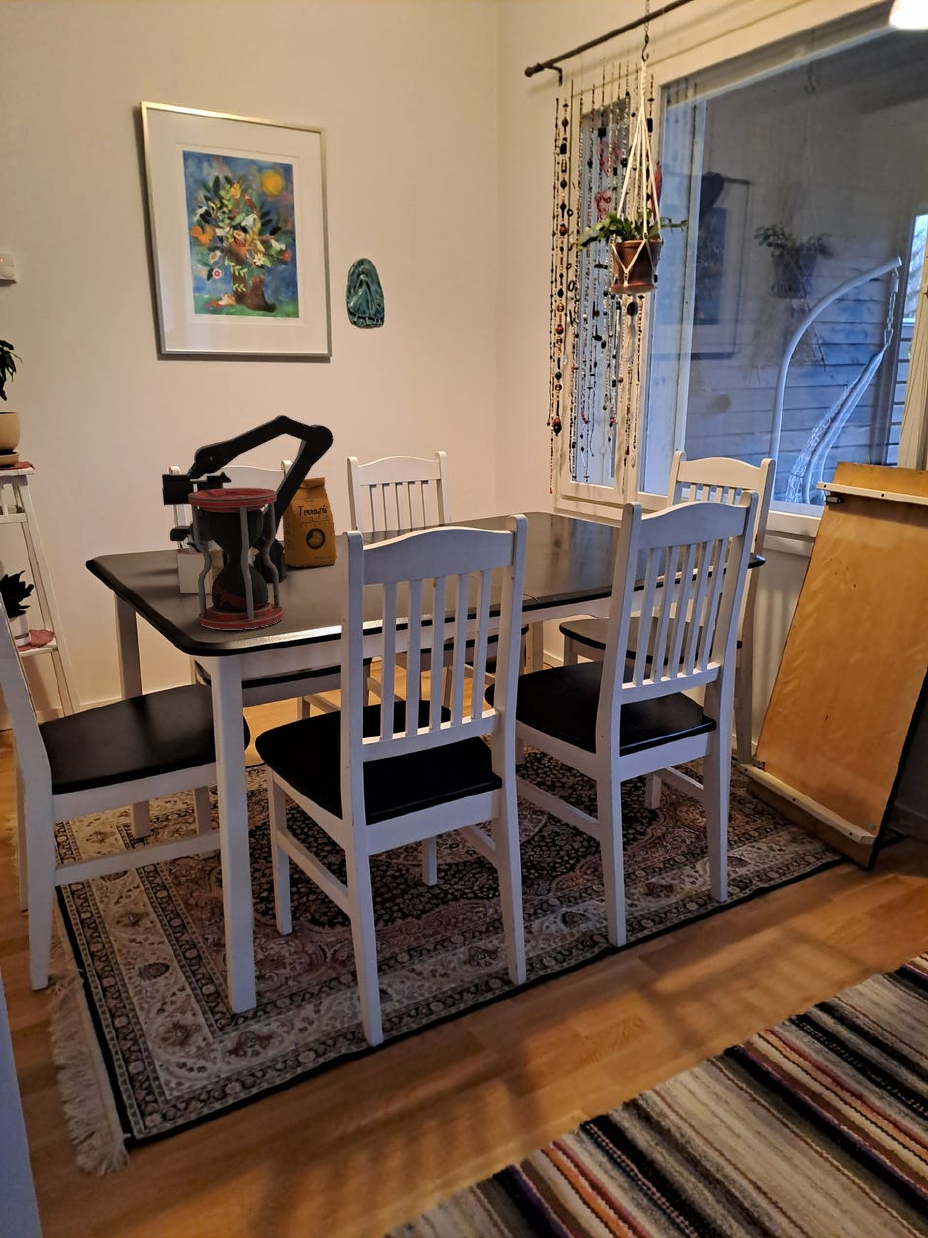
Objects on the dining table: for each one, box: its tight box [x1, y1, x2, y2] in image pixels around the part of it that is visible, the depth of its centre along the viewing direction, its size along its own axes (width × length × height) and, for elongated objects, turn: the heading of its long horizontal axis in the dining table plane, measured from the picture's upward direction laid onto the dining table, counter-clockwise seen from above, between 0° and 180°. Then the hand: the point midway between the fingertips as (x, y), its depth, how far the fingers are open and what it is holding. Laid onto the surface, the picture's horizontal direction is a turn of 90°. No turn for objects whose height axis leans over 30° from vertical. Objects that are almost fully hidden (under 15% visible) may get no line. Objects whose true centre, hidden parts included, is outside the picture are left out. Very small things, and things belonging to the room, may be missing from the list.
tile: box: [176, 551, 214, 593], centre depth 188 cm, size 7×2×9 cm, turn 85°
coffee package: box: [281, 476, 337, 568], centre depth 214 cm, size 10×12×22 cm
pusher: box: [208, 548, 224, 579], centre depth 196 cm, size 4×4×6 cm
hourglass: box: [188, 487, 285, 629], centre depth 164 cm, size 16×16×25 cm
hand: (216, 570), depth 197 cm, fingers closed on pusher, 4 cm apart
